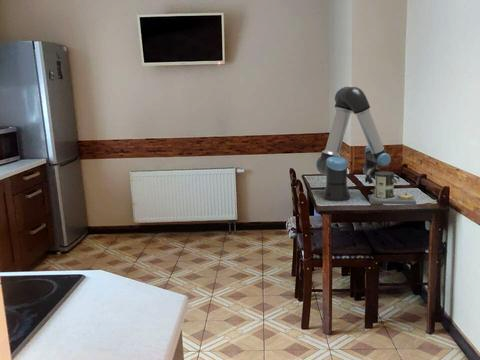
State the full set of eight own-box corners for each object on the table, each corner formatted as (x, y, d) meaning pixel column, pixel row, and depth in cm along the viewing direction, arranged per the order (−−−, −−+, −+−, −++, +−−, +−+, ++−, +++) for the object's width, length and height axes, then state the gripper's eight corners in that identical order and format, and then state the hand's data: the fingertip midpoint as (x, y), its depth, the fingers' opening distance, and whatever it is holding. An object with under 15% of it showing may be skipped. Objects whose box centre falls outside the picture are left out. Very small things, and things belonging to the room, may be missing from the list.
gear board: (370, 203, 255) (370, 195, 254) (368, 197, 269) (368, 189, 268) (416, 204, 251) (416, 196, 250) (411, 197, 264) (411, 189, 263)
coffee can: (392, 195, 264) (393, 170, 261) (394, 199, 254) (395, 174, 251) (373, 195, 266) (374, 171, 263) (375, 199, 256) (375, 175, 253)
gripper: (395, 180, 276) (408, 188, 255) (354, 181, 277) (364, 189, 255) (395, 167, 275) (408, 175, 253) (355, 169, 275) (364, 176, 254)
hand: (386, 182), depth 254 cm, fingers open, 12 cm apart
